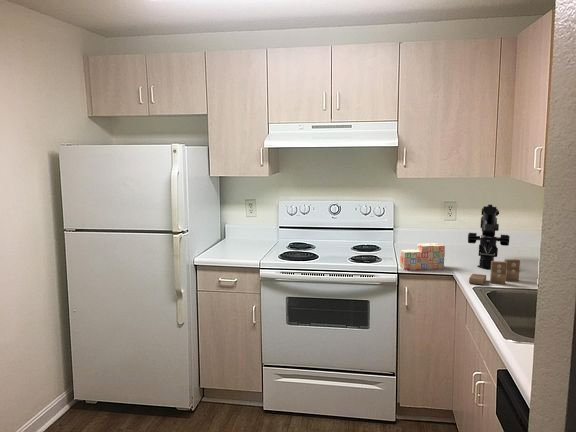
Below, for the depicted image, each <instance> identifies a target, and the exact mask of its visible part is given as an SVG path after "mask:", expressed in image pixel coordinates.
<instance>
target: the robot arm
mask: <svg viewBox="0 0 576 432" xmlns="http://www.w3.org/2000/svg"><path fill="white" fill-rule="evenodd" d="M498 215H500V210H499V209H498V208H497V206H493V204H487V206H486V205H485V206H483V207H482V208H481V217H480V226H479V227H480V229H481V235H477V233H476V232H469V233H467V243H468V244H474V245H475V244H476V243H477V241H479V245H478V257H479V264H478V265H477V267H478V268H482V269H485V270H491V261H495V258H498V254H499V253H498V252H499V247H497V242H499V245H501V246H504V247H507V246H510V235H509V234H500V236H496V232H499V227H500V226H499V225H500V224H499V223H498V218H497V217H498Z"/></svg>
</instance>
